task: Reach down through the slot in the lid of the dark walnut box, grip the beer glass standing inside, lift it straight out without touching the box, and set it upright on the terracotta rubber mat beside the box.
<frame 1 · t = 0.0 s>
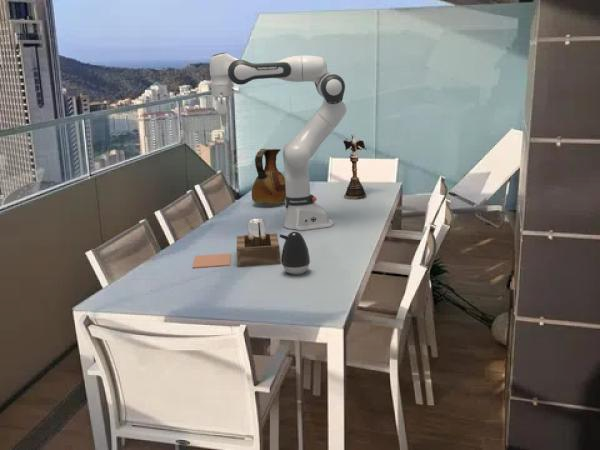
hand: (224, 124, 270), 48 cm above the table, tool pointing down, fingers open, 8 cm apart
ceramic pitcher: (271, 204, 330), on the table
terracotta mat: (212, 261, 240), on the table
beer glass: (258, 258, 241), resting in walnut box
pump dispenser: (296, 272, 223), on the table
walnut box: (258, 257, 241), on the table
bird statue: (354, 196, 339), on the table
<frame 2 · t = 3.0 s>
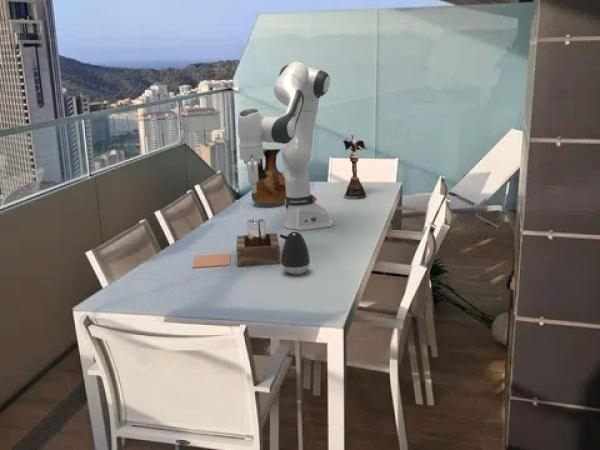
hand: (254, 190, 234), 27 cm above the table, tool pointing down, fingers open, 8 cm apart
nothing on the table moved.
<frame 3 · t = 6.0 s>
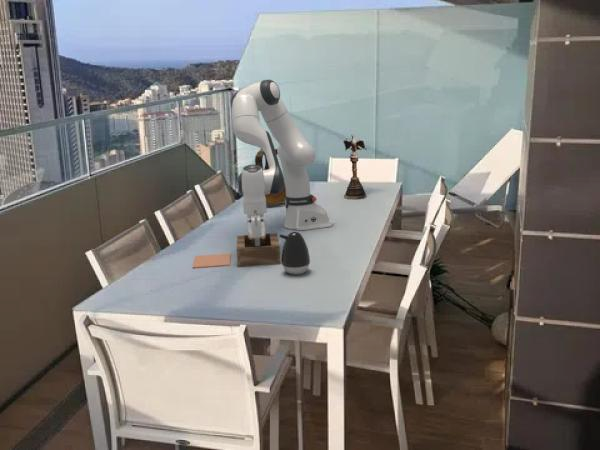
hand: (257, 242, 240), 6 cm above the table, tool pointing down, fingers closed on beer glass, 6 cm apart
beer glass: (258, 258, 241), resting in walnut box, touching gripper
everything else where it was.
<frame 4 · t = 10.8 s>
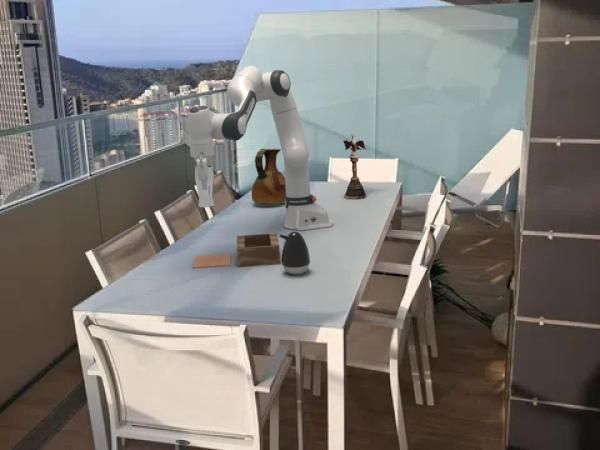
hand: (205, 187, 233), 29 cm above the table, tool pointing down, fingers closed on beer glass, 6 cm apart
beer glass: (206, 206, 234), point 22 cm above the table, touching gripper
everything else where it was.
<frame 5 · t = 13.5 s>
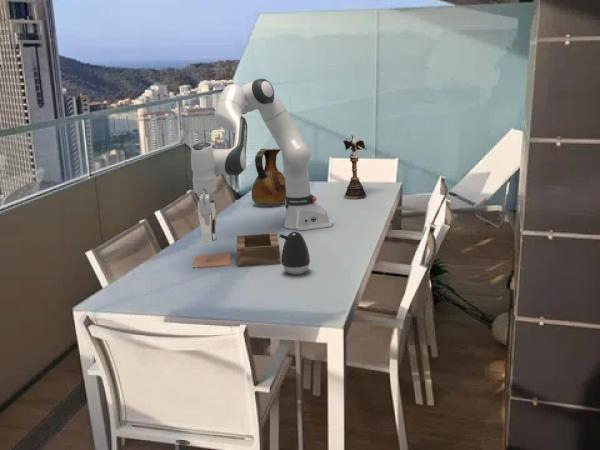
hand: (208, 222, 236), 16 cm above the table, tool pointing down, fingers closed on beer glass, 6 cm apart
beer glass: (209, 240, 238), point 9 cm above the table, touching gripper
everything else where it was.
when the fingers open (7 cm above the table, at t = 15.8 s): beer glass stays where it is, resting on terracotta mat.
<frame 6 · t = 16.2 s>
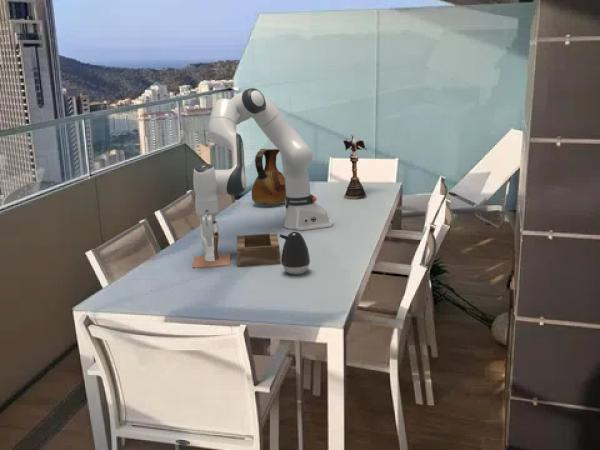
hand: (210, 242, 238), 8 cm above the table, tool pointing down, fingers open, 8 cm apart
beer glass: (212, 260, 240), resting on terracotta mat
everything else where it was.
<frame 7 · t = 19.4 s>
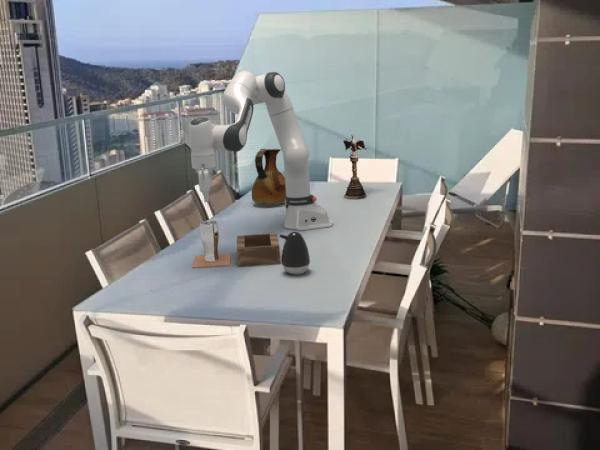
hand: (207, 199, 233), 25 cm above the table, tool pointing down, fingers open, 8 cm apart
nothing on the table moved.
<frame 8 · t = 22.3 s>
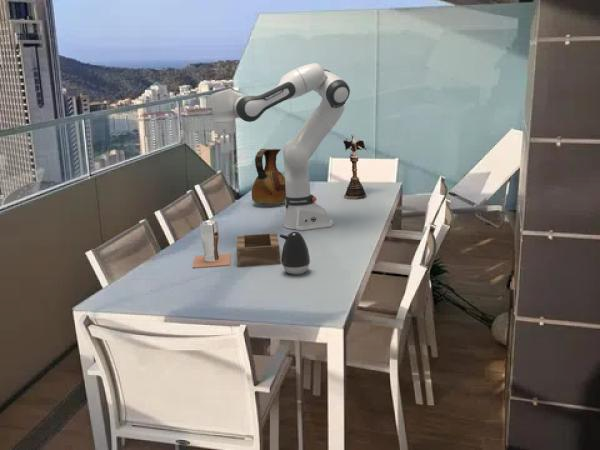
hand: (227, 162, 257), 34 cm above the table, tool pointing down, fingers open, 8 cm apart
nothing on the table moved.
at the end: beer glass inside the target area on the terracotta mat (0.2 cm from its centre), point 0.3 cm above the terracotta mat's base; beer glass tilted 0°; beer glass touching terracotta mat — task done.
